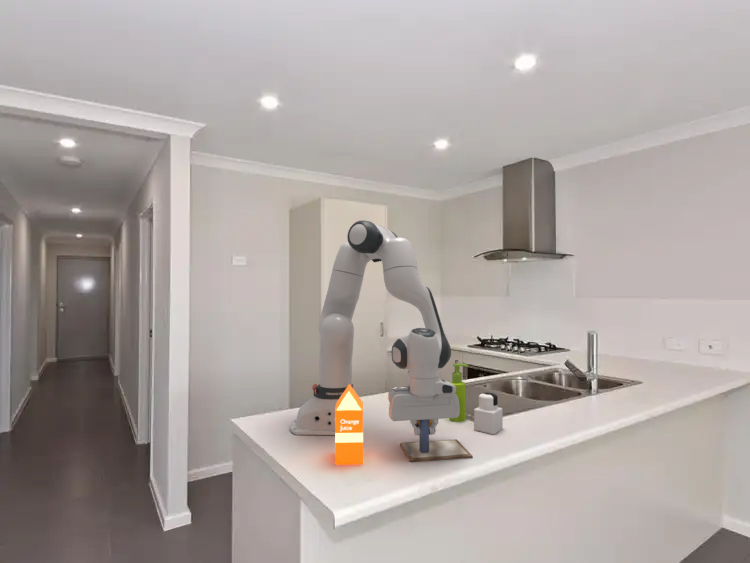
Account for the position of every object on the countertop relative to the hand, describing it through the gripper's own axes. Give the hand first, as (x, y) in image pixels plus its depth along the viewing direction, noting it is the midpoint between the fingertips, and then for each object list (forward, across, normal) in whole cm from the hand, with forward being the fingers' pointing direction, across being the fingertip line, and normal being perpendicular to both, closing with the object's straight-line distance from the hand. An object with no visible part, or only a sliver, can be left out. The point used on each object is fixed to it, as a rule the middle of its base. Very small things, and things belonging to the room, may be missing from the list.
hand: (424, 434), depth 124 cm
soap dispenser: (+6, +21, +29) cm, 36 cm away
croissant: (+6, +6, +24) cm, 26 cm away
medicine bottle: (+6, +27, +17) cm, 32 cm away
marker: (+5, 0, 0) cm, 5 cm away
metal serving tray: (+6, +4, +2) cm, 7 cm away
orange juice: (+6, -21, +1) cm, 22 cm away
